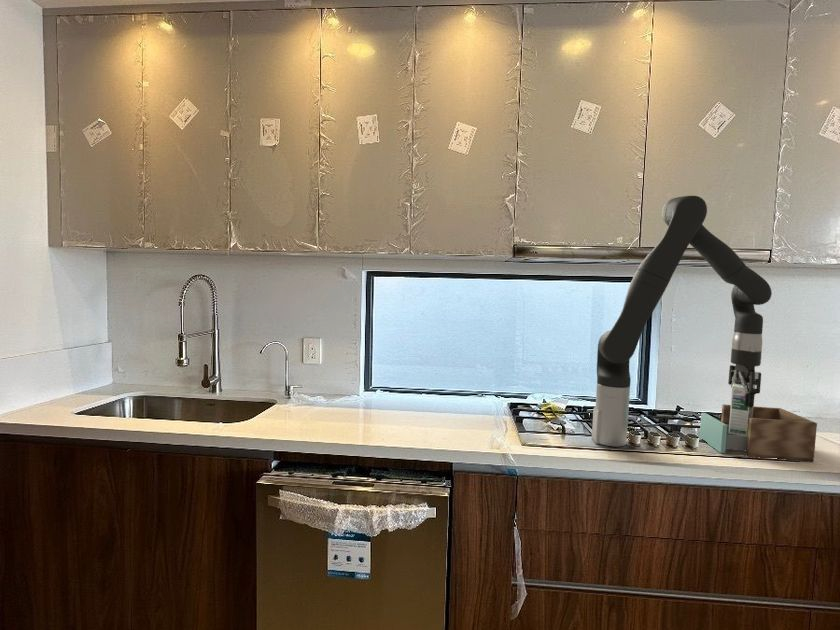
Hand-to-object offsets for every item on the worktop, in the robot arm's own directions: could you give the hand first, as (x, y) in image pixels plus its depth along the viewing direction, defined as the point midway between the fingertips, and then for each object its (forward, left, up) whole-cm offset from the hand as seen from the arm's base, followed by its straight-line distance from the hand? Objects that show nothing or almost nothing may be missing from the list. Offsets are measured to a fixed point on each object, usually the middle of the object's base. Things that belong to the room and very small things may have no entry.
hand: (742, 403), depth 157 cm
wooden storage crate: (+7, 0, -13) cm, 15 cm away
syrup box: (0, 0, -9) cm, 9 cm away
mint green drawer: (-1, 0, -13) cm, 13 cm away
